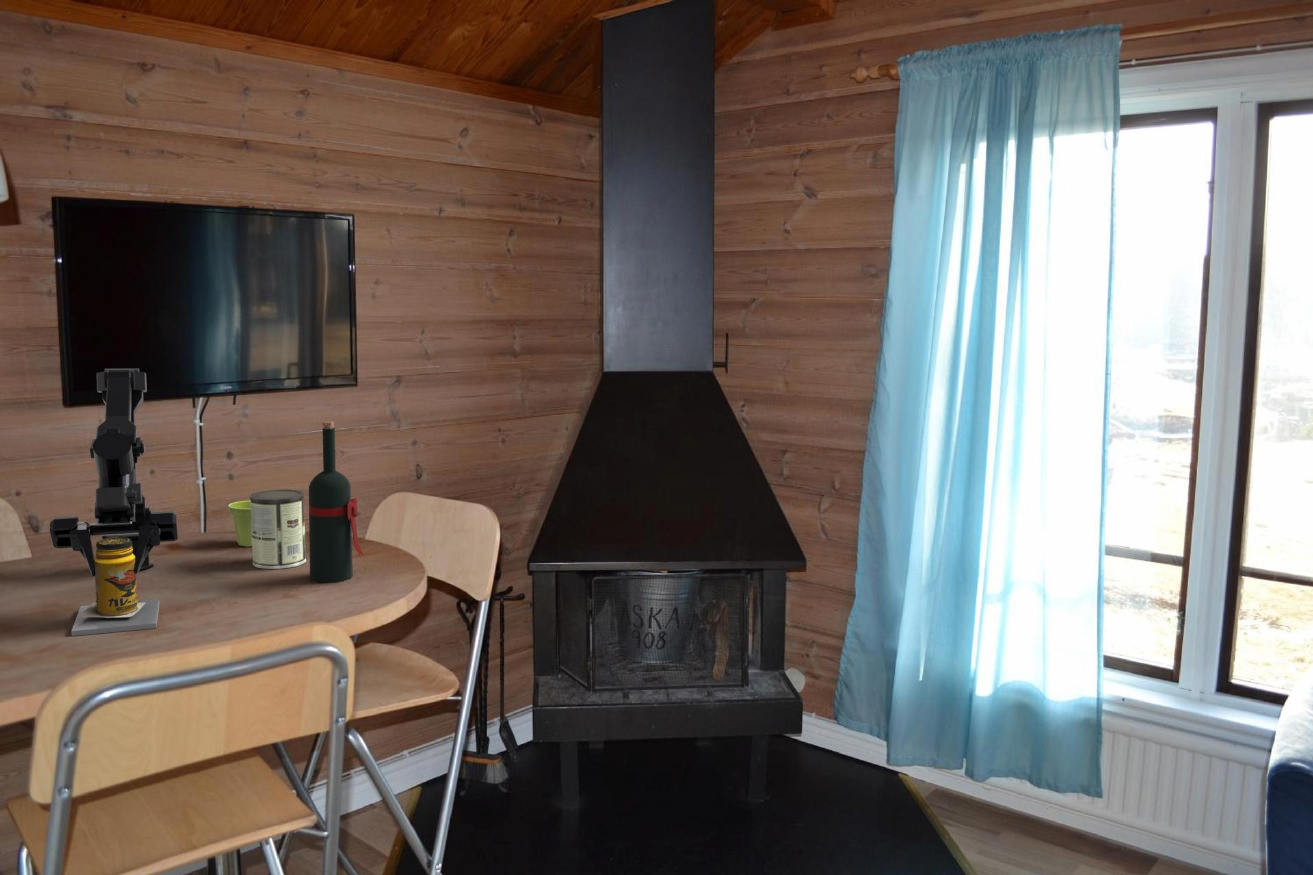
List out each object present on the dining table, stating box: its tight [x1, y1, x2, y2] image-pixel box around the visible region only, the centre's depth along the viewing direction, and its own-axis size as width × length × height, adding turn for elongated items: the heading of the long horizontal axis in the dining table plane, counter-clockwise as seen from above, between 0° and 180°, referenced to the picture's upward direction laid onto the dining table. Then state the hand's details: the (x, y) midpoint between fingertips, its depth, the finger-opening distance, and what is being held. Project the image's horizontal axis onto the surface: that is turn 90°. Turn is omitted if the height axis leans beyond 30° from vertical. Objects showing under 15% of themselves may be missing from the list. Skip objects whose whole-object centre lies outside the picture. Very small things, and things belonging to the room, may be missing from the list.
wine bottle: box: [308, 420, 365, 584], centre depth 199 cm, size 8×10×30 cm
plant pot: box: [227, 500, 252, 548], centre depth 225 cm, size 9×9×9 cm
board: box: [71, 599, 160, 637], centre depth 174 cm, size 14×12×1 cm
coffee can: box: [249, 488, 307, 570], centre depth 210 cm, size 10×10×14 cm
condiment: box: [75, 537, 145, 619], centre depth 172 cm, size 7×8×12 cm
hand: (114, 573), depth 171 cm, fingers closed on condiment, 6 cm apart
